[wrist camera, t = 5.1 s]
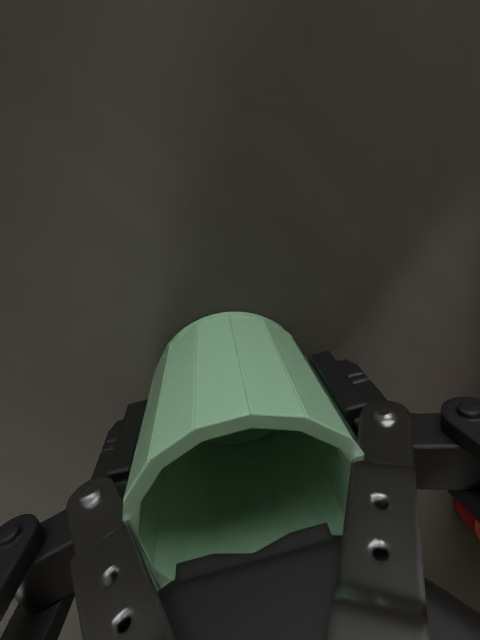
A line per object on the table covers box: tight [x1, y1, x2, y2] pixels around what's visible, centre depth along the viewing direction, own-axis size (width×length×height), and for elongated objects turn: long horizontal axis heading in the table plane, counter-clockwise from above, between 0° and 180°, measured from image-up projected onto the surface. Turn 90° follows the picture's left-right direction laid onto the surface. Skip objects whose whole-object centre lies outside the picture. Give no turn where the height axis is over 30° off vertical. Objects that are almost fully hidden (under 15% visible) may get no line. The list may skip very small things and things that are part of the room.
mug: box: [122, 312, 364, 586], centre depth 12 cm, size 9×6×6 cm
